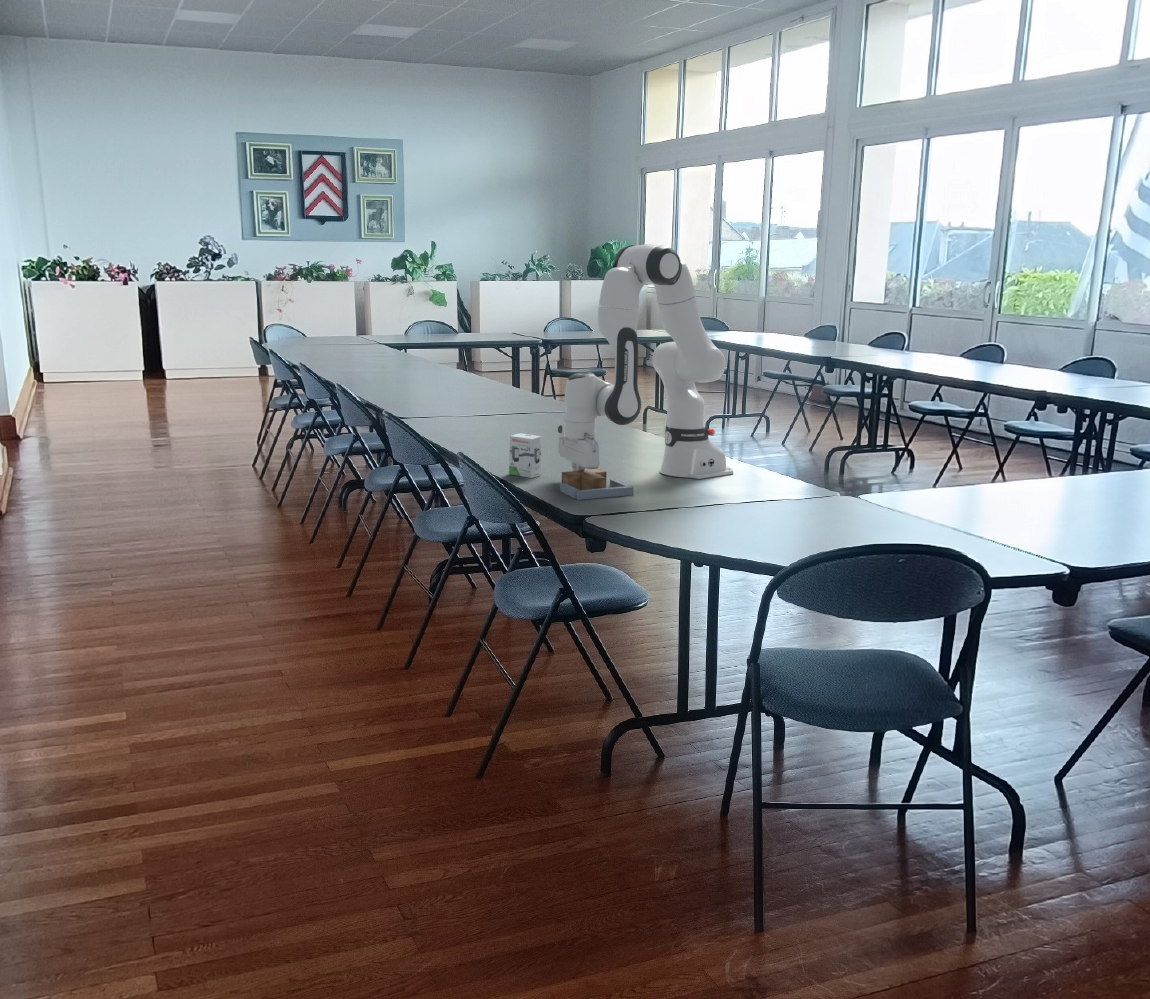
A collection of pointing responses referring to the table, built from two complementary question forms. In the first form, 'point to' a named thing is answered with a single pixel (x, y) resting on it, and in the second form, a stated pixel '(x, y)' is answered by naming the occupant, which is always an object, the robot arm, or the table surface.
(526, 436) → the ink box
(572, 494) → the bay fence
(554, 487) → the table surface
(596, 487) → the t block
